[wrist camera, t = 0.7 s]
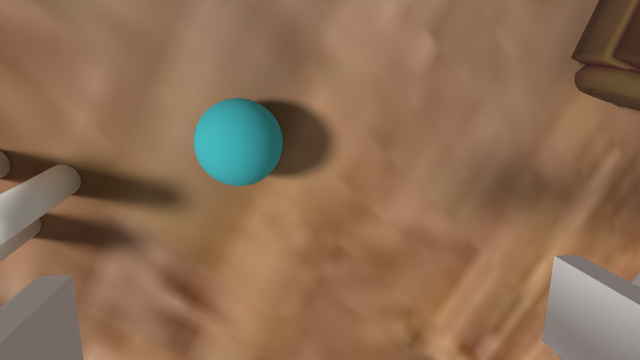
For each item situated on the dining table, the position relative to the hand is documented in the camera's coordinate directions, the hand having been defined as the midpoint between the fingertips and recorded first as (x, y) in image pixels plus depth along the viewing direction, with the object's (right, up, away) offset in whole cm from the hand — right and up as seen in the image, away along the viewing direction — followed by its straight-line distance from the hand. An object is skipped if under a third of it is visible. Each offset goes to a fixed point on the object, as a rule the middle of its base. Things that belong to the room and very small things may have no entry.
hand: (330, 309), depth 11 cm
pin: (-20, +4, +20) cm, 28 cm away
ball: (-6, +6, +17) cm, 19 cm away
